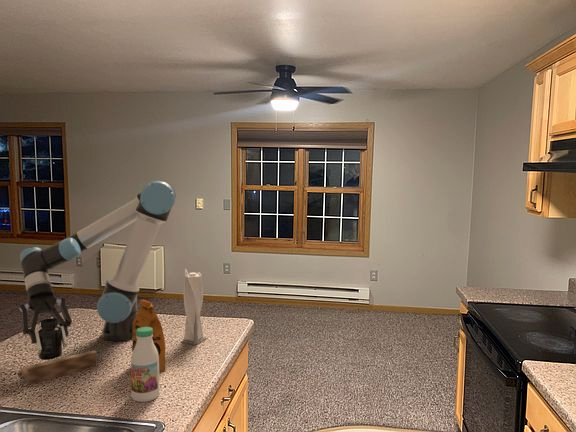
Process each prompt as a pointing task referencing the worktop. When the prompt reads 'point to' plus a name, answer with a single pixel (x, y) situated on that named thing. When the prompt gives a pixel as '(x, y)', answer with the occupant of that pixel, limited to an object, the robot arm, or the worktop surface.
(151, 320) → the orange brown carved sculpture
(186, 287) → the skyscraper
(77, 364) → the walnut shelf
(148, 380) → the milk bottle
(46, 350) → the supplement bottle
